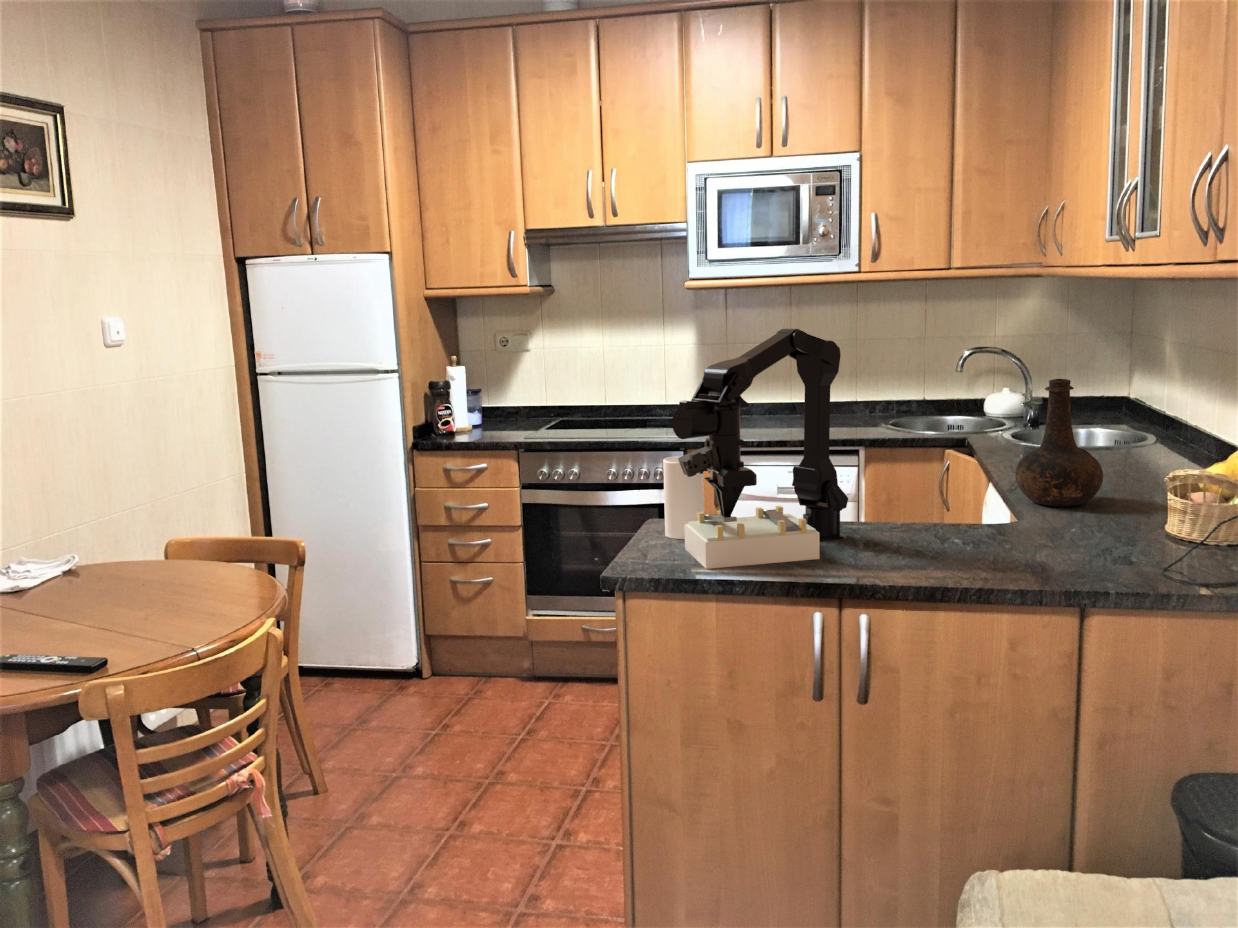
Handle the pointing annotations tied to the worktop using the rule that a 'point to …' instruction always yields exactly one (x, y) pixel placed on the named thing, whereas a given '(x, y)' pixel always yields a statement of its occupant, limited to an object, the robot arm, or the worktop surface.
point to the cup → (680, 497)
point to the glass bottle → (1059, 458)
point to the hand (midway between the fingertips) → (725, 516)
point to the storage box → (749, 541)
